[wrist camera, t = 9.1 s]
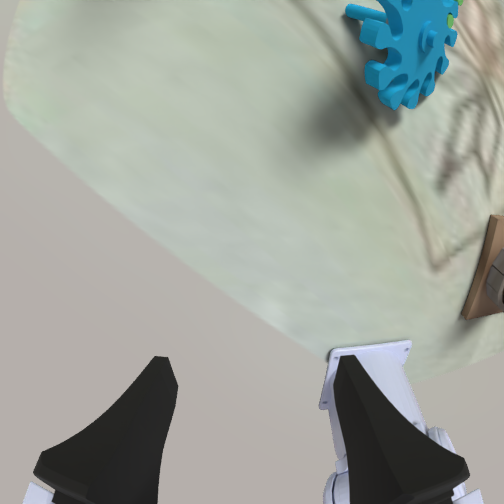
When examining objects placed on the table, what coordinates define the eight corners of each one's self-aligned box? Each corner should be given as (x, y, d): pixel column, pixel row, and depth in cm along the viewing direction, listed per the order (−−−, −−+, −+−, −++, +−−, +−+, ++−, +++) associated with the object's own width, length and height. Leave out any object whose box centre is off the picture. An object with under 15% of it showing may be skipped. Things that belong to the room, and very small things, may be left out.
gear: (396, 146, 14) (364, -3, 6) (326, 102, 17) (256, -16, 8) (471, 58, 12) (464, -56, 3) (407, 27, 15) (376, -74, 6)
